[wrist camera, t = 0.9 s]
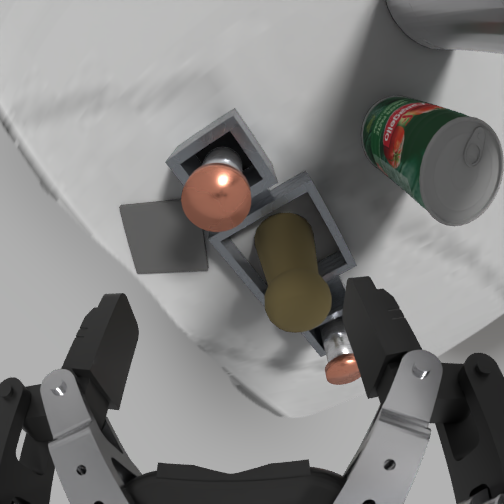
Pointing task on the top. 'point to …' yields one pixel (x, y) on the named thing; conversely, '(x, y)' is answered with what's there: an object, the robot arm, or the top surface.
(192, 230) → the pad
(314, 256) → the cork
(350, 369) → the plunger
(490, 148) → the canned tomato
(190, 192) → the plunger
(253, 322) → the top surface
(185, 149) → the housing
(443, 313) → the top surface
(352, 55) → the top surface
